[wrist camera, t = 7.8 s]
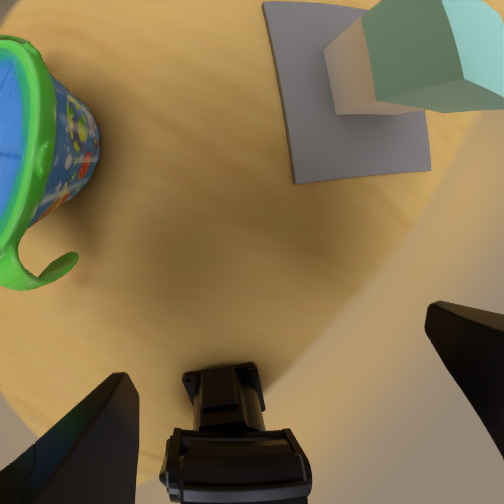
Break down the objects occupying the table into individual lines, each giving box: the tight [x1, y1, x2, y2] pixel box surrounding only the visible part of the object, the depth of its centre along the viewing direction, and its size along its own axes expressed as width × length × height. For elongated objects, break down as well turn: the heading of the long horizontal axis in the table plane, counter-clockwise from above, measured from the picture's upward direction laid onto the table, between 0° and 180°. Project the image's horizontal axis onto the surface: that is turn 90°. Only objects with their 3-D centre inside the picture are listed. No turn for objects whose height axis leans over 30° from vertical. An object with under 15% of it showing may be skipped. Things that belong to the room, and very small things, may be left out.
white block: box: [323, 16, 427, 115], centre depth 13 cm, size 5×5×6 cm
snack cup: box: [0, 35, 100, 291], centre depth 11 cm, size 16×11×10 cm
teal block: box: [361, 0, 504, 113], centre depth 8 cm, size 5×5×6 cm
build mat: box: [262, 1, 431, 184], centre depth 17 cm, size 14×12×1 cm
